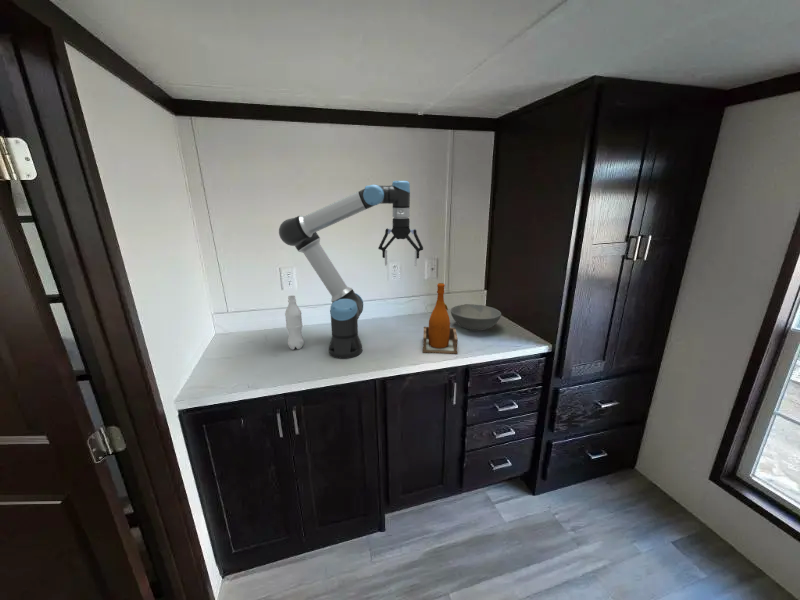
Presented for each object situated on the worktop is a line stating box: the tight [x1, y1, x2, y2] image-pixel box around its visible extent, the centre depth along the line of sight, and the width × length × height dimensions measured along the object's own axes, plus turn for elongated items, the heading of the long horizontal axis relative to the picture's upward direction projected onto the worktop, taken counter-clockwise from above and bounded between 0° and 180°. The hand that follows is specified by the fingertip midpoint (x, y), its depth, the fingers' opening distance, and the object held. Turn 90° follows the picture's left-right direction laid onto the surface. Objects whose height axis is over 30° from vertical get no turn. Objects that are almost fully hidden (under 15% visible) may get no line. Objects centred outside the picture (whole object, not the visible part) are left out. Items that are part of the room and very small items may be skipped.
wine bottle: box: [428, 282, 451, 348], centre depth 158 cm, size 10×10×30 cm
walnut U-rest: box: [422, 326, 459, 355], centre depth 163 cm, size 16×16×7 cm
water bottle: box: [284, 295, 305, 351], centre depth 158 cm, size 7×7×25 cm
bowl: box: [450, 303, 502, 331], centre depth 185 cm, size 26×26×10 cm
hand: (400, 265), depth 158 cm, fingers open, 13 cm apart
